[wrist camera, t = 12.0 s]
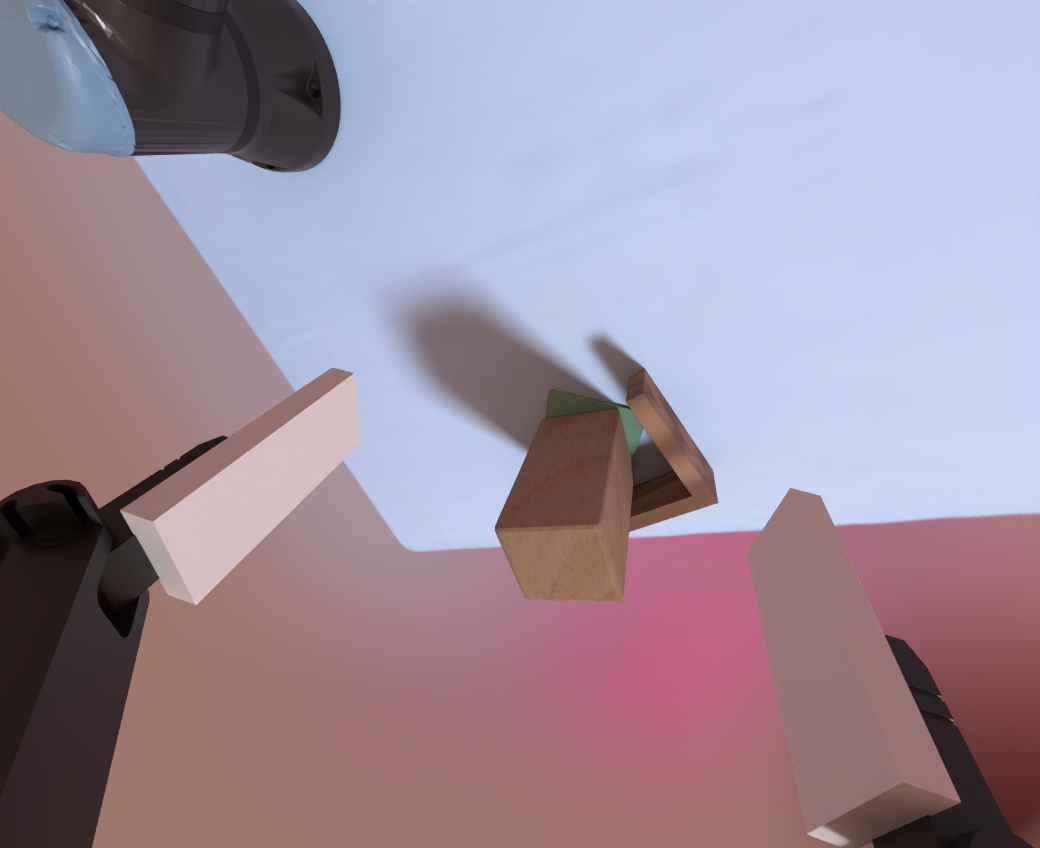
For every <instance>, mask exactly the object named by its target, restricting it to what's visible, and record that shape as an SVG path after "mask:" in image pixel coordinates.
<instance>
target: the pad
mask: <svg viewBox="0 0 1040 848" xmlns="http://www.w3.org/2000/svg"><path fill="white" fill-rule="evenodd" d="M610 409H618V410H619V411H620V414H621V418H622V422H623V427H624V431H625V435H626V439H627V444H628V448H629V452H630V456H631V460H632V462H633V459H634V455H635V452H636V449H637V446H638V443H639V440H640V437H641V434H642V431H643V426H642V424H641V423H640V421H639V420H638V418H637V417H636V416H635V414H634V413H633V411H632V410H631V408H629V407H625V406H620V405H616V404H611V403H607V402H603V401H598V400H594V399H589V398H585V397H581V396H576V395H572V394H567V393H563V392H559V391H554V390H550V394H549V400H548V406H547V412H546V418H545V419H547V418H554V417H561V416H568V415H575V414H582V413H589V412H596V411H603V410H610Z"/></svg>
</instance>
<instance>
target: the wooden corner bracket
mask: <svg viewBox="0 0 1040 848" xmlns="http://www.w3.org/2000/svg"><path fill="white" fill-rule="evenodd" d="M626 403H627V404H628V406H629V407H630V408H631V410H632V411H633V413H634V414H635V416H636V417H637V418H638V420H639V421H640V423H641V424H642V426H643V427H644V428H645V430H646V431H647V433H648V434H649V435H650V437H651V438H652V440H653V441H654V443H655V444H656V445H657V447H658V448H659V450H660V451H661V453H662V454H663V455H664V457H665V458H666V460H667V461H668V462H669V464H670V465H671V467H672V468H673V470H674V471H672V472H669V473H667V474H664V475H662V476H659V477H656V478H654V479H651V480H649V481H646V482H643V483H641V484H638V485H636V486H633V492H632V503H631V515H630V526H629V532H630V531H633V530H636V529H639V528H643V527H646V526H649V525H652V524H655V523H658V522H661V521H664V520H667V519H670V518H673V517H676V516H679V515H682V514H685V513H688V512H692V511H695V510H698V509H701V508H704V507H707V506H710V505H713V504H716V503H718V499H717V493H716V486H715V480H714V474H713V470H712V468H711V467H710V465H709V464H708V462H707V461H706V459H705V458H704V456H703V455H702V453H701V452H700V450H699V449H698V447H697V446H696V444H695V443H694V441H693V440H692V438H691V437H690V435H689V434H688V432H687V431H686V429H685V428H684V426H683V425H682V423H681V422H680V420H679V419H678V417H677V416H676V414H675V413H674V411H673V410H672V408H671V407H670V405H669V404H668V402H667V401H666V399H665V398H664V396H663V395H662V393H661V392H660V390H659V389H658V387H657V386H656V384H655V383H654V381H653V380H652V378H651V377H650V375H649V374H648V373H647V371H646V370H645V369H644V370H642V371H640V372H638V373H637V374H635V375H633V376H631V377H629V384H628V391H627V398H626Z"/></svg>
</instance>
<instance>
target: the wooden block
mask: <svg viewBox="0 0 1040 848" xmlns="http://www.w3.org/2000/svg"><path fill="white" fill-rule="evenodd" d="M633 481H634V469H633V465H632V460H631V456H630V452H629V448H628V444H627V439H626V435H625V431H624V427H623V422H622V418H621V414H620V411H619V410H618V409H610V410H603V411H596V412H589V413H582V414H575V415H568V416H561V417H554V418H547V419H544V420H542V422H541V424H540V427H539V429H538V431H537V433H536V436H535V438H534V440H533V442H532V444H531V447H530V449H529V451H528V453H527V456H526V458H525V460H524V462H523V465H522V467H521V469H520V471H519V474H518V476H517V478H516V480H515V483H514V485H513V487H512V489H511V492H510V494H509V496H508V498H507V501H506V503H505V505H504V507H503V509H502V512H501V514H500V516H499V518H498V521H497V523H496V525H495V532H496V534H497V537H498V539H499V541H500V543H501V546H502V548H503V550H504V552H505V554H506V557H507V559H508V561H509V563H510V566H511V568H512V570H513V572H514V575H515V577H516V579H517V581H518V584H519V586H520V588H521V590H522V592H523V594H524V597H525V598H526V599H529V600H555V601H557V600H558V601H587V602H621V601H622V599H623V593H624V581H625V571H626V560H627V549H628V537H629V526H630V515H631V503H632V492H633Z"/></svg>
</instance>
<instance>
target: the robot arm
mask: <svg viewBox="0 0 1040 848" xmlns="http://www.w3.org/2000/svg"><path fill="white" fill-rule="evenodd" d="M0 109H1V110H2V111H3V112H4V113H5V114H6V115H7V116H8V117H9V118H11V119H12V120H13V121H14V122H15V123H17V124H18V125H19V126H21V127H22V128H23V129H25V130H26V131H27V132H29V133H30V134H32V135H34V136H35V137H37V138H39V139H40V140H42V141H44V142H46V143H48V144H51V145H53V146H55V147H58V148H60V149H64V150H68V151H73V152H82V153H99V154H109V155H112V156H116V157H125V156H126V157H127V156H142V155H178V154H214V153H227V154H229V155H231V156H234V157H236V158H239V159H241V160H244V161H246V162H249V163H252V164H254V165H256V166H259V167H261V168H264V169H267V170H270V171H275V172H299V171H305V170H308V169H311V168H313V167H314V166H316V165H318V164H319V163H320V162H321V161H322V160H323V159H324V158H325V157H326V156H327V154H328V153H329V151H330V150H331V148H332V146H333V144H334V141H335V139H336V136H337V132H338V128H339V122H340V91H339V84H338V79H337V74H336V70H335V66H334V63H333V60H332V57H331V55H330V52H329V49H328V47H327V45H326V43H325V41H324V39H323V37H322V35H321V33H320V31H319V29H318V28H317V26H316V25H315V23H314V22H313V20H312V19H311V17H310V16H309V15H308V14H307V12H306V11H305V10H304V9H303V8H302V6H301V5H300V4H299V3H298V2H297V1H295V0H0ZM360 443H361V436H360V426H359V416H358V406H357V396H356V387H355V377H354V373H351V372H348V371H344V370H340V369H336V368H331V369H330V370H328V371H327V372H325V373H324V374H322V375H321V376H319V377H318V378H316V379H315V380H313V381H312V382H310V383H309V384H307V385H306V386H304V387H303V388H301V389H300V390H298V391H297V392H295V393H294V394H292V395H291V396H289V397H288V398H287V399H285V400H283V401H282V402H280V403H279V404H278V405H276V406H275V407H273V408H272V409H270V410H269V411H267V412H266V413H264V414H263V415H261V416H260V417H258V418H257V419H255V420H254V421H252V422H251V423H249V424H248V425H246V426H245V427H243V428H242V429H240V430H239V431H237V432H236V433H234V434H233V435H231V436H230V437H225V436H220V437H218V438H215V439H213V440H210V441H207V442H204V443H202V444H199V445H198V446H196V447H195V448H193V449H191V450H190V451H188V452H187V453H185V454H184V455H182V456H181V457H180V459H179V460H177V459H176V460H174V461H173V462H171V463H170V464H168V465H167V466H165V468H164V470H159V471H158V472H156V473H154V474H153V475H151V476H150V477H148V478H147V479H145V480H143V481H142V482H140V483H139V484H137V485H136V486H134V487H133V488H131V489H129V490H128V491H126V492H125V493H123V494H122V495H120V496H119V497H117V498H115V499H114V500H112V501H111V502H109V503H108V504H106V505H105V506H103V507H101V508H100V509H98V507H97V506H96V504H95V502H94V501H93V499H92V497H91V496H90V494H89V492H88V491H87V489H86V488H85V487H84V486H83V485H82V484H81V483H80V482H76V481H71V480H53V481H48V482H43V483H39V484H35V485H32V486H29V487H27V488H24V489H22V490H19V491H16V492H15V493H13V494H11V495H9V496H8V497H6V498H5V499H3V500H1V501H0V848H92V844H93V840H94V835H95V832H96V827H97V823H98V818H99V814H100V810H101V806H102V801H103V797H104V793H105V789H106V784H107V780H108V776H109V771H110V767H111V763H112V759H113V755H114V750H115V746H116V741H117V737H118V733H119V729H120V724H121V720H122V716H123V712H124V707H125V703H126V699H127V695H128V690H129V686H130V682H131V678H132V673H133V669H134V665H135V660H136V656H137V652H138V648H139V643H140V639H141V634H142V630H143V626H144V621H145V618H146V613H147V609H148V605H149V591H148V590H147V588H149V587H150V586H151V585H152V584H153V583H154V582H156V581H157V580H158V579H159V580H160V582H161V583H162V585H163V587H164V589H165V591H166V592H167V594H168V595H170V596H173V597H176V598H178V599H181V600H184V601H186V602H189V603H192V604H195V605H196V604H198V603H199V602H200V601H201V600H202V599H203V598H204V597H205V596H206V595H207V594H208V593H209V592H210V591H211V590H212V588H214V587H215V586H216V585H217V584H218V583H219V582H220V581H221V580H222V579H223V578H224V577H225V576H226V575H227V574H228V573H229V572H230V571H231V570H232V569H233V568H234V567H235V566H236V565H237V564H238V563H239V562H240V561H241V560H242V559H243V558H244V557H245V556H246V555H247V554H248V553H249V552H250V551H251V550H252V549H253V548H254V547H255V546H256V545H257V544H258V543H259V542H260V541H261V540H262V539H264V538H265V536H267V535H268V534H269V533H270V532H271V531H272V530H273V529H274V528H275V527H276V526H277V525H278V524H279V523H280V522H281V521H282V520H283V519H284V518H285V517H286V516H287V515H288V514H289V513H290V512H291V511H292V510H293V509H294V508H295V507H296V506H297V505H298V504H299V503H300V502H301V501H302V500H303V499H304V498H305V497H306V496H307V495H308V494H309V493H310V492H311V491H312V490H313V489H314V488H315V487H316V486H317V485H318V484H319V483H320V482H321V481H322V480H323V479H324V478H325V477H326V476H327V475H328V474H329V473H330V472H332V470H333V469H335V467H337V465H339V464H340V462H342V461H343V460H344V459H345V458H346V457H347V456H348V455H349V454H350V453H351V452H352V451H353V450H354V449H355V448H356V447H357V446H358V445H359V444H360ZM747 557H748V561H749V566H750V570H751V576H752V580H753V585H754V590H755V594H756V599H757V604H758V608H759V613H760V618H761V622H762V627H763V632H764V636H765V641H766V646H767V650H768V655H769V660H770V665H771V669H772V674H773V679H774V683H775V688H776V692H777V697H778V702H779V707H780V712H781V716H782V721H783V725H784V730H785V735H786V740H787V744H788V749H789V754H790V758H791V763H792V767H793V773H794V777H795V781H796V787H797V791H798V796H799V800H800V805H801V810H802V815H803V819H804V824H805V828H806V833H807V834H808V835H810V836H813V837H816V838H818V839H821V840H824V841H826V842H829V843H832V844H834V845H837V846H840V847H842V848H860V847H862V846H864V845H867V844H869V843H871V842H873V845H874V848H1034V847H1032V846H1031V845H1030V844H1028V843H1027V842H1026V841H1024V840H1023V839H1022V838H1020V837H1019V836H1017V835H1015V834H1013V832H1012V830H1011V829H1010V827H1009V825H1008V824H1007V822H1006V820H1005V818H1004V816H1003V815H1002V812H1001V811H1000V808H999V807H998V805H997V803H996V801H995V799H994V797H993V795H992V793H991V791H990V789H989V787H988V785H987V783H986V781H985V779H984V778H983V776H982V773H981V772H980V770H979V768H978V766H977V764H976V762H975V760H974V758H973V756H972V754H971V752H970V750H969V748H968V746H967V744H966V742H965V740H964V739H963V736H962V734H961V733H960V731H959V729H958V727H957V726H955V725H954V724H953V721H954V719H953V717H952V715H951V713H950V711H949V709H948V707H947V705H946V703H945V702H943V701H942V700H941V697H942V695H941V694H940V692H939V690H938V688H937V686H936V684H935V682H934V680H933V678H932V676H931V674H930V672H929V670H928V668H927V667H926V666H925V665H924V663H923V662H922V661H921V660H920V659H919V657H918V656H917V655H916V654H915V653H914V651H913V650H912V649H911V648H910V647H909V646H908V644H907V643H906V642H905V641H904V640H901V639H898V638H895V637H891V636H888V635H885V634H884V633H883V631H882V629H881V627H880V624H879V623H878V620H877V618H876V616H875V614H874V611H873V609H872V607H871V605H870V603H869V601H868V598H867V596H866V594H865V592H864V590H863V587H862V585H861V584H860V581H859V579H858V577H857V574H856V572H855V570H854V568H853V566H852V564H851V561H850V559H849V557H848V555H847V553H846V550H845V548H844V546H843V544H842V542H841V540H840V538H839V535H838V533H837V531H836V529H835V527H834V524H833V522H832V520H831V518H830V516H829V514H828V511H827V509H826V507H825V505H824V503H823V500H822V498H821V496H819V495H815V494H811V493H807V492H804V491H800V490H796V489H792V488H790V489H789V491H788V492H787V494H786V495H785V497H784V498H783V500H782V501H781V503H780V504H779V506H778V507H777V509H776V510H775V512H774V513H773V515H772V517H771V518H770V520H769V521H768V523H767V524H766V526H765V527H764V529H763V530H762V532H761V533H760V535H759V536H758V538H757V539H756V541H755V542H754V544H753V545H752V547H751V548H750V550H749V551H748V553H747Z"/></svg>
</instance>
